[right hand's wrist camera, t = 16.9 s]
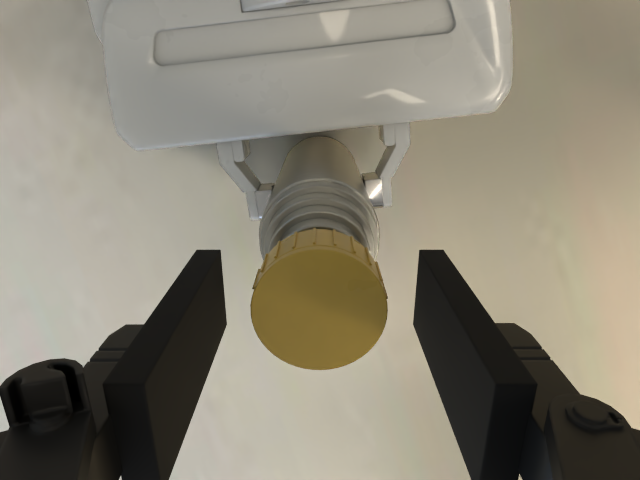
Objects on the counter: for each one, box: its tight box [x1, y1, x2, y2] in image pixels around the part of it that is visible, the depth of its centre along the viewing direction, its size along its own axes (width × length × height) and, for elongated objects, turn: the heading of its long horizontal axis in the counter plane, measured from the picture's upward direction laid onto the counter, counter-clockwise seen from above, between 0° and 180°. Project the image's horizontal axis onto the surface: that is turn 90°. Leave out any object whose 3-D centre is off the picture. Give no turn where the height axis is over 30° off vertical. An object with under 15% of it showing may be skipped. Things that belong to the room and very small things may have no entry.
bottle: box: [259, 136, 380, 261], centre depth 22 cm, size 5×5×19 cm
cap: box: [251, 228, 388, 370], centre depth 14 cm, size 4×4×2 cm
